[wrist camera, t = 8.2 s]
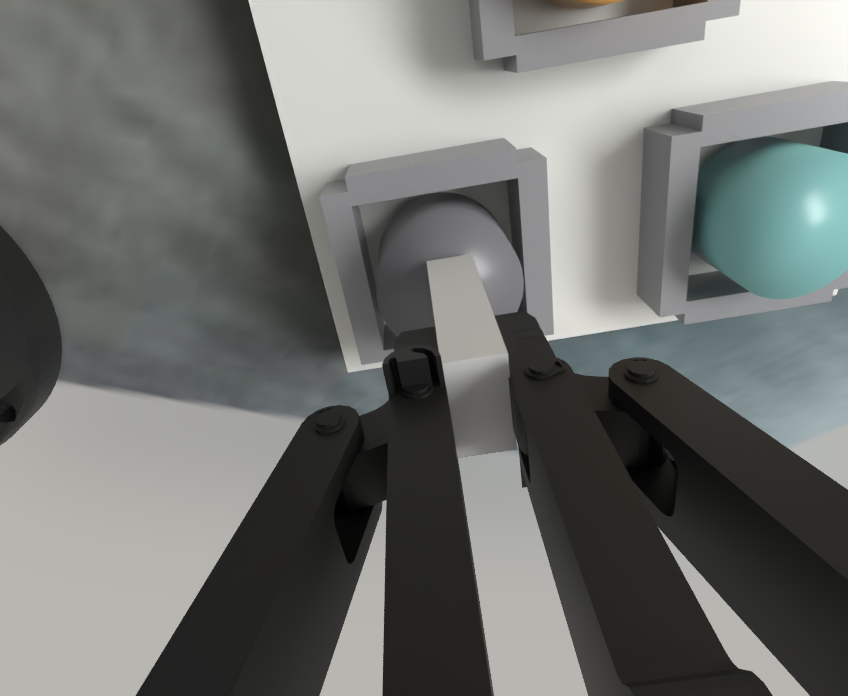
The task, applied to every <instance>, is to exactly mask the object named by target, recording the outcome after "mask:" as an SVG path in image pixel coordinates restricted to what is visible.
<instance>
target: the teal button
mask: <svg viewBox="0 0 848 696" xmlns="http://www.w3.org/2000/svg"><path fill="white" fill-rule="evenodd" d="M691 251H692V252H693V253H694V254H695V255H697V256H698V257H699V258H701V259H702V260H704V261H705V262H707V263H708V264H710V265H711V266H713V267H714V268H716V269H717V270H719V271H720V272H721V273H723V274H724V275H726V276H727V277H729V278H730V279H732V280H733V281H735V282H736V283H738V284H739V285H741V286H742V287H744V288H745V289H746V290H748V291H749V292H751V293H753V294H755V295H757V296H761V297H764V298H770V299H789V298H795V297H799V296H803V295H806V294H809V293H811V292H814V291H816V290H818V289H820V288H822V287H824V286H826V285H828V284H829V283H831V282H832V281H834V280H835V279H837V278H838V277H839V276H841V275H842V274H843V273H844V272H846V271H847V270H848V154H847V153H842V152H838V151H834V150H829V149H825V148H820V147H816V146H812V145H807V144H803V143H798V142H794V141H790V140H785V139H781V138H776V137H769V136H762V137H757V138H751V139H745V140H742V141H739V142H736V143H734V144H732V145H730V146H728V147H726V148H725V149H723V150H722V151H720V152H719V153H717V154H716V155H715V156H714V157H712V158H711V159H710V160H709V161H708V162H707V163H706V164H705V165H704V166H703V167H702V169H701V170H700V171H699V172H698V180H697V190H696V201H695V212H694V223H693V233H692V244H691Z"/></svg>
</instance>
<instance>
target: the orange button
mask: <svg viewBox="0 0 848 696" xmlns="http://www.w3.org/2000/svg"><path fill="white" fill-rule="evenodd" d="M549 1H551V2H553V3H555V4H557V5H560V6H563V7H568V8H574V9H585V8H593V7H598V6H602V5H607V4H611V3H616V2H621V1H625V0H549Z"/></svg>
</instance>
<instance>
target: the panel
mask: <svg viewBox="0 0 848 696" xmlns="http://www.w3.org/2000/svg"><path fill="white" fill-rule="evenodd" d="M248 1H249V5H250V9H251V12H252V16H253V20H254V24H255V27H256V31H257V35H258V38H259V42H260V46H261V50H262V53H263V57H264V61H265V65H266V68H267V72H268V76H269V80H270V83H271V87H272V91H273V95H274V98H275V102H276V106H277V109H278V113H279V117H280V121H281V124H282V128H283V132H284V136H285V139H286V143H287V147H288V151H289V154H290V158H291V162H292V166H293V169H294V173H295V177H296V180H297V184H298V188H299V192H300V195H301V199H302V203H303V207H304V210H305V214H306V218H307V222H308V225H309V229H310V233H311V237H312V240H313V244H314V248H315V251H316V255H317V259H318V263H319V266H320V270H321V274H322V278H323V281H324V285H325V289H326V293H327V296H328V300H329V304H330V308H331V311H332V315H333V319H334V322H335V326H336V330H337V334H338V337H339V341H340V345H341V349H342V352H343V356H344V360H345V364H346V367H347V371H348V373H349V372H355V371H361V370H367V369H374V368H380V367H382V363H383V361H384V359H385V358H386V357H387V356H388V355H389V354H390V353H392V352H394V341H395V340H396V339H397V336H396V335H395V334H394V333H393V332H392V330H391V329H390V328H389V327H388V325H387V324H386V322H385V321H384V319H383V317H382V314H381V312H380V309H379V306H378V302H377V295H376V283H377V271H378V258H379V248H380V242H381V238H382V235H383V232H384V230H385V228H386V226H387V224H388V223H389V221H390V220H391V218H392V217H393V216H394V215H395V213H396V212H398V211H399V210H400V209H401V208H402V207H403V206H405V205H406V204H407V203H409V202H411V201H412V200H414V199H416V198H419V197H421V196H424V195H427V194H432V193H440V192H449V193H456V194H461V195H464V196H467V197H469V198H471V199H474V200H476V201H477V202H479V203H480V204H482V205H483V206H484V207H485V208H486V209H488V210H489V212H490V213H491V214H492V215H493V216H494V218H495V219H496V221H497V222H498V224H499V226H500V227H501V229H502V231H503V232H504V234H505V236H506V237H507V239H508V241H509V242H510V244H511V246H512V247H513V249H514V251H515V252H516V254H517V257H518V259H519V261H520V264H521V267H522V271H523V279H524V289H523V296H522V300H521V303H520V306H519V309H518V311H517V312H520V311H525V312H527V313H528V314H530V315H532V316H533V317H535V318H536V320H537V322H538V324H539V326H540V329H542V331H543V333H544V336H545V337H546V339H547V341H549V340H556V339H562V338H568V337H574V336H581V335H587V334H593V333H600V332H606V331H612V330H618V329H625V328H631V327H637V326H643V325H650V324H656V323H662V322H669V321H675V320H680V321H681V322H682V323H683V324H684V325H685V324H691V323H697V322H703V321H710V320H716V319H722V318H729V317H735V316H741V315H747V314H754V313H760V312H766V311H773V310H779V309H785V308H791V307H798V306H804V305H810V304H817V303H823V302H829V301H831V299H832V295H837V292H838V289H841V288H847V287H848V270H847V271H846V272H844V273H843V274H842V275H841V276H839V277H838V278H837V279H835V280H834V281H832V282H831V283H829V284H828V285H826V286H824V287H822V288H820V289H818V290H816V291H814V292H811V293H809V294H806V295H803V296H799V297H795V298H789V299H770V298H764V297H761V296H757V295H755V294H753V293H751V292H749V291H748V290H746V289H745V288H744V287H742V286H741V285H739V284H738V283H736V282H735V281H733V280H732V279H730V278H729V277H727V276H726V275H724V274H723V273H721V272H720V271H719V270H717V269H716V268H714V267H713V266H711V265H710V264H708V263H707V262H705V261H704V260H702V259H701V258H699V257H698V256H697V255H695V254H694V253H693V252H692V251H691V244H692V233H693V223H694V212H695V201H696V190H697V180H698V172H699V171H700V170H701V169H702V167H703V166H704V165H705V164H706V163H707V162H708V161H709V160H710V159H711V158H712V157H714V156H715V155H716V154H717V153H719V152H720V151H722V150H723V149H725V148H726V147H728V146H730V145H732V144H734V143H736V142H739V141H742V140H745V139H751V138H757V137H762V136H769V137H776V138H781V139H785V140H790V141H794V142H798V143H803V144H807V145H812V146H816V147H820V148H825V149H829V150H834V151H838V152H842V153H847V154H848V0H625V1H621V2H616V3H611V4H607V5H602V6H598V7H593V8H585V9H574V8H568V7H563V6H560V5H557V4H555V3H553V2H551V1H549V0H248Z"/></svg>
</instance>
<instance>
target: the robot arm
mask: <svg viewBox="0 0 848 696" xmlns="http://www.w3.org/2000/svg"><path fill="white" fill-rule="evenodd" d="M426 262H427V269H428V277H429V284H430V291H431V298H432V306H433V313H434V320H435V327H428V328H422V329H416V330H409V331H403V332H401V333H400V335H399V336H398V337H397V339H396V340H395V341H394V352H392V353H390V354H389V355H388V356H387V357H386V358H385V359H384V361H383V363H382V367H383V371H384V376H385V380H386V385H387V389H388V393H389V400H388V401H387V402H386V403H385V404H384V405H383V406H381V407H379V408H378V409H376V410H374V411H371V412H369V413H366V414H364V415H361V416H359V415H358V413H357V411H356V410H355V409H353V408H351V407H349V406H341V405H337V406H330V407H326V408H323V409H320V410H318V411H316V412H314V413H313V414H311V415H310V416H308V417H307V418H306V419H305V421H304V422H303V423H302V424H301V426H300V428H299V429H298V431H297V432H296V434H295V436H294V437H293V439H292V441H291V442H290V444H289V446H288V447H287V449H286V451H285V452H284V454H283V455H282V457H281V459H280V460H279V462H278V464H277V465H276V467H275V469H274V470H273V472H272V473H271V475H270V477H269V478H268V480H267V482H266V483H265V485H264V487H263V488H262V490H261V491H260V493H259V495H258V497H257V498H256V500H255V501H254V503H253V505H252V506H251V508H250V510H249V511H248V513H247V514H246V516H245V518H244V519H243V521H242V523H241V524H240V526H239V527H238V529H237V531H236V532H235V534H234V536H233V537H232V539H231V541H230V542H229V544H228V545H227V547H226V549H225V550H224V552H223V554H222V555H221V557H220V559H219V560H218V562H217V563H216V565H215V567H214V569H213V570H212V572H211V573H210V575H209V577H208V578H207V580H206V581H205V583H204V585H203V586H202V588H201V590H200V591H199V593H198V595H197V596H196V598H195V599H194V601H193V603H192V605H191V606H190V608H189V609H188V611H187V613H186V614H185V616H184V617H183V619H182V621H181V622H180V624H179V626H178V627H177V629H176V631H175V632H174V634H173V635H172V637H171V639H170V641H169V642H168V644H167V645H166V647H165V649H164V650H163V652H162V653H161V655H160V657H159V659H158V660H157V662H156V663H155V665H154V667H153V668H152V670H151V672H150V673H149V675H148V676H147V678H146V680H145V681H144V683H143V685H142V686H141V688H140V690H139V691H138V693H137V695H136V696H319V695H320V692H321V689H322V686H323V683H324V680H325V677H326V674H327V671H328V668H329V665H330V663H331V659H332V657H333V654H334V650H335V647H336V645H337V642H338V639H339V636H340V633H341V630H342V627H343V624H344V621H345V618H346V615H347V611H348V609H349V606H350V603H351V600H352V597H353V594H354V591H355V588H356V585H357V582H358V579H359V576H360V573H361V570H362V567H363V564H364V561H365V559H366V556H367V553H368V550H369V547H370V543H371V541H372V538H373V535H374V532H375V529H376V526H377V522H378V520H379V517H380V514H381V511H382V501H384V500H387V510H386V511H387V512H386V559H385V607H384V608H385V609H384V654H383V696H494V693H493V687H492V680H491V674H490V668H489V661H488V654H487V648H486V641H485V634H484V628H483V621H482V614H481V608H480V601H479V595H478V588H477V582H476V575H475V569H474V562H473V555H472V549H471V542H470V536H469V529H468V523H467V516H466V509H465V503H464V496H463V489H462V483H461V476H460V470H459V464H458V458H462V457H468V456H474V455H482V454H488V453H495V452H502V451H508V450H515V449H517V446H516V439H517V442H518V446H519V456H520V467H521V478H522V487H527V488H528V492H529V495H530V499H531V502H532V505H533V509H534V512H535V515H536V519H537V522H538V526H539V529H540V532H541V536H542V539H543V542H544V546H545V549H546V553H547V556H548V560H549V563H550V567H551V570H552V573H553V577H554V580H555V583H556V587H557V590H558V594H559V597H560V600H561V604H562V607H563V611H564V614H565V617H566V621H567V624H568V627H569V631H570V635H571V638H572V641H573V645H574V648H575V652H576V655H577V658H578V662H579V665H580V668H581V672H582V675H583V679H584V682H585V686H586V689H587V692H588V696H772V694H771V693H770V691H769V690H768V688H767V687H766V685H765V684H764V682H763V681H761V680H760V679H759V678H758V677H757V676H756V675H755V674H754V673H753V672H751V671H747V670H742V669H738V668H737V667H736V666H735V665H734V664H733V663H732V661H731V660H730V658H729V657H728V655H727V653H726V652H725V650H724V648H723V646H722V644H721V643H720V641H719V639H718V637H717V635H716V634H715V632H714V630H713V628H712V626H711V624H710V623H709V621H708V619H707V617H706V615H705V613H704V611H703V610H702V608H701V606H700V604H699V602H698V601H697V599H696V597H695V595H694V593H693V591H692V589H691V588H690V586H689V584H688V582H687V580H686V579H685V577H684V575H683V573H682V571H681V569H680V567H679V566H678V564H677V562H676V560H675V558H674V556H673V554H672V553H671V551H670V549H669V547H668V545H667V544H666V542H665V540H664V538H663V536H662V534H661V532H660V531H659V529H658V527H659V528H660V530H661V531H662V532H663V533H664V534H665V535H666V536H667V537H668V539H669V540H671V542H672V543H673V544H674V545H675V546H676V547H677V549H678V550H679V551H680V552H681V553H682V554H683V555H684V556H685V557H686V558H687V560H688V561H689V562H690V563H691V564H692V565H693V566H694V567H695V568H696V570H697V571H698V572H699V573H700V574H701V575H702V576H703V577H704V578H705V580H706V581H707V582H708V583H709V584H710V585H711V586H712V587H713V588H714V590H715V591H716V592H717V593H718V594H719V595H720V596H721V597H722V598H723V600H724V601H725V602H726V603H727V604H728V605H729V606H730V607H731V608H732V610H733V611H734V612H735V613H736V614H737V615H738V616H739V617H740V618H741V619H742V620H743V622H744V623H745V624H746V625H747V626H748V627H749V628H750V629H751V630H752V632H753V633H754V634H755V635H756V636H757V637H758V638H759V639H760V641H761V642H762V643H763V644H764V645H765V646H766V647H767V648H768V649H769V651H770V652H771V653H772V654H773V655H774V656H775V657H776V658H777V659H778V661H779V662H780V663H781V664H782V665H783V666H784V667H785V668H786V669H787V670H788V672H789V673H790V674H791V675H792V676H793V677H794V678H795V679H796V681H797V682H798V683H799V684H800V685H801V686H802V687H803V688H804V689H805V690H806V692H807V693H808V694H809V695H810V696H848V490H847V489H846V488H844V487H843V486H841V485H840V484H838V483H837V482H836V481H834V480H833V479H831V478H830V477H829V476H827V475H826V474H824V473H823V472H821V471H820V470H818V469H817V468H816V467H814V466H813V465H811V464H810V463H808V462H807V461H805V460H804V459H803V458H801V457H800V456H798V455H797V454H795V453H794V452H792V451H791V450H790V449H788V448H787V447H785V446H784V445H782V444H781V443H779V442H778V441H777V440H775V439H774V438H772V437H771V436H769V435H768V434H766V433H765V432H764V431H762V430H761V429H759V428H758V427H756V426H755V425H753V424H752V423H751V422H749V421H748V420H746V419H745V418H743V417H742V416H740V415H739V414H738V413H736V412H735V411H733V410H732V409H730V408H729V407H727V406H726V405H725V404H723V403H722V402H720V401H719V400H717V399H716V398H714V397H713V396H712V395H710V394H709V393H707V392H706V391H704V390H703V389H702V388H700V387H699V386H697V385H696V384H694V383H693V382H691V381H690V380H689V379H687V378H686V377H684V376H683V375H681V374H680V373H678V372H677V371H676V370H674V369H673V368H671V367H670V366H668V365H666V364H664V363H662V362H660V361H658V360H653V359H649V358H642V357H640V358H639V357H637V358H629V359H624V360H621V361H619V362H617V363H614V364H613V365H612V367H611V368H610V369H609V377H596V376H584V375H579V374H575V373H574V372H573V371H572V369H571V367H570V366H569V365H568V364H567V363H566V362H565V361H563V360H561V359H559V358H556V356H555V355H554V353H553V351H552V349H551V347H550V345H549V343H548V341H547V339H546V337H545V336H544V333H543V331H542V329H540V326H539V324H538V322H537V320H536V318H535V317H533V316H532V315H530V314H528V313H527V312H525V311H520V312H514V313H508V314H501V315H495V316H494V314H493V311H492V308H491V305H490V303H489V300H488V297H487V295H486V292H485V289H484V286H483V284H482V281H481V278H480V275H479V273H478V270H477V267H476V265H475V262H474V259H473V256H472V254H467V255H461V256H455V257H449V258H443V259H437V260H431V261H426ZM61 353H62V346H61V335H60V329H59V324H58V320H57V316H56V313H55V310H54V307H53V304H52V302H51V299H50V297H49V294H48V292H47V290H46V288H45V286H44V284H43V282H42V280H41V279H40V277H39V275H38V274H37V272H36V270H35V269H34V267H33V266H32V264H31V263H30V261H29V260H28V258H27V257H26V255H25V254H24V253H23V252H22V250H21V249H20V248H19V246H18V245H17V244H16V243H15V242H14V240H13V239H12V238H11V237H10V236H9V235H8V233H7V232H6V231H5V230H4V229H3V228H2V227H1V226H0V445H1V444H3V443H4V442H6V441H7V440H8V439H9V438H11V437H12V436H13V435H14V434H15V433H16V432H17V431H18V430H19V429H20V428H21V427H22V426H23V425H24V424H25V423H26V422H27V421H28V420H29V419H30V418H31V417H32V416H33V415H34V414H35V413H36V412H37V411H38V410H39V409H40V408H41V406H42V405H43V404H44V403H45V401H46V400H47V399H48V397H49V395H50V394H51V392H52V390H53V388H54V386H55V384H56V381H57V378H58V374H59V370H60V365H61ZM657 526H658V527H657Z"/></svg>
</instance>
